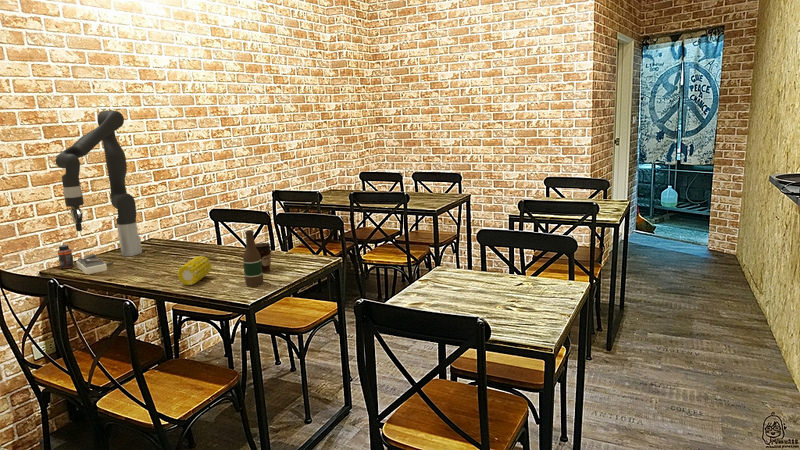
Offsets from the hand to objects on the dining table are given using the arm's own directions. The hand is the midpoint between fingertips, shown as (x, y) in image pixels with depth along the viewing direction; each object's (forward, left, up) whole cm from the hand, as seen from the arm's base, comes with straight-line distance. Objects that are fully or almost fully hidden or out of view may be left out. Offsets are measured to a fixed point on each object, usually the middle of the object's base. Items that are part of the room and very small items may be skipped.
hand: (79, 230), depth 258 cm
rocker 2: (-2, +7, -15) cm, 16 cm away
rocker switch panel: (-5, +3, -19) cm, 20 cm away
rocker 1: (-2, -2, -15) cm, 15 cm away
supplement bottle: (+6, -9, -19) cm, 22 cm away
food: (-30, +60, -20) cm, 70 cm away
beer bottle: (-46, +85, -19) cm, 98 cm away
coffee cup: (-58, +71, -19) cm, 94 cm away
